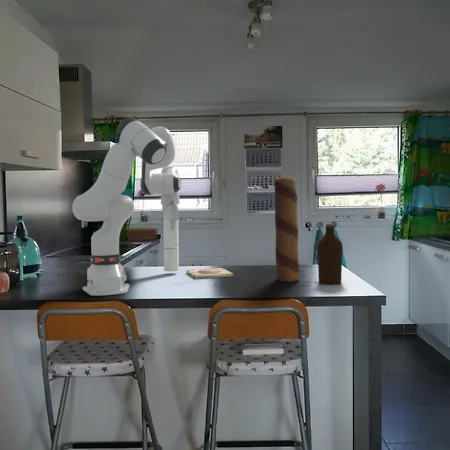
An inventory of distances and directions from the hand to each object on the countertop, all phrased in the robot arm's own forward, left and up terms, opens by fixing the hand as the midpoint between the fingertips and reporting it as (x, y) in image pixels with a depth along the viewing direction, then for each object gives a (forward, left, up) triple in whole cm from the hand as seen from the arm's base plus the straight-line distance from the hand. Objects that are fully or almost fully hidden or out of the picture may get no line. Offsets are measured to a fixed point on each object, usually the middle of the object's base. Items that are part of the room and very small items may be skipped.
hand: (171, 229), depth 228 cm
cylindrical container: (0, 0, -20) cm, 20 cm away
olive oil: (-50, -58, -22) cm, 80 cm away
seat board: (-10, -16, -22) cm, 29 cm away
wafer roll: (-37, -44, -22) cm, 62 cm away
